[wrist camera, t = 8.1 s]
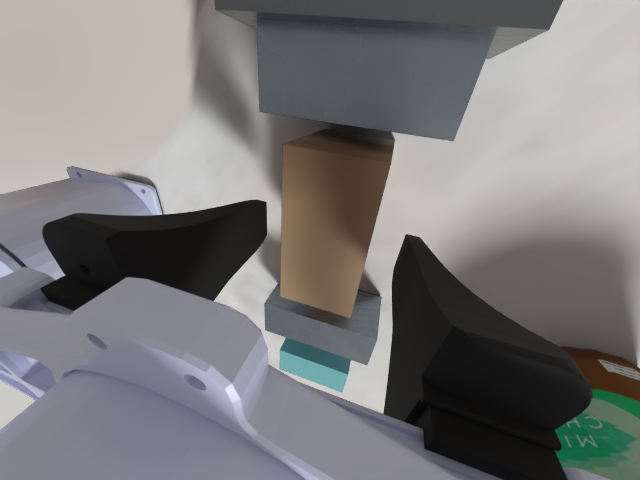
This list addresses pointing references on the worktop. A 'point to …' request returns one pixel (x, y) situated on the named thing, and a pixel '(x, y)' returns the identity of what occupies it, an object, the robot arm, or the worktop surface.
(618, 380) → the food container
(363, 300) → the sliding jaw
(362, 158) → the walnut block
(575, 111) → the worktop surface
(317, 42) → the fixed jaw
